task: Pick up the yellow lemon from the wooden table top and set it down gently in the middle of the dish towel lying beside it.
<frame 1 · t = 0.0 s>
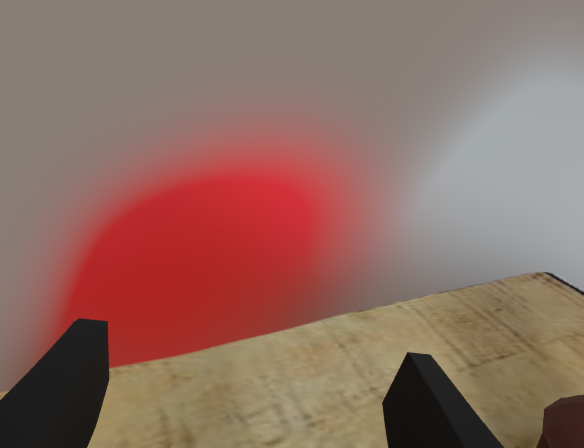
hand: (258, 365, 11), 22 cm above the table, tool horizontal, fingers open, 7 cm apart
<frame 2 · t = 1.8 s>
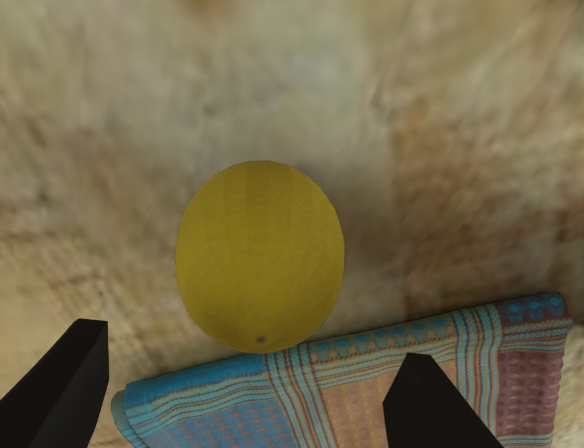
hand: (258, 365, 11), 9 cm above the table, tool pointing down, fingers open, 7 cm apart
dish towel: (349, 419, 27), on the table
lemon: (262, 189, 18), on the table
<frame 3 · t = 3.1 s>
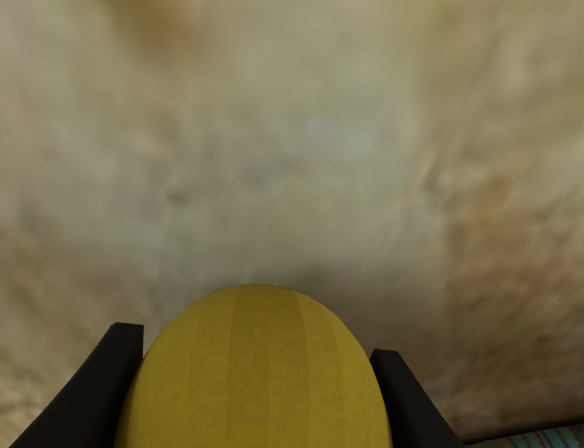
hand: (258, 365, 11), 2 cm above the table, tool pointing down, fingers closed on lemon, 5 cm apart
lemon: (258, 297, 13), on the table, touching gripper
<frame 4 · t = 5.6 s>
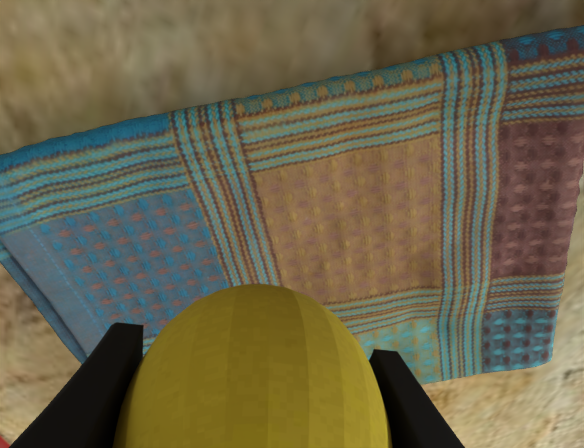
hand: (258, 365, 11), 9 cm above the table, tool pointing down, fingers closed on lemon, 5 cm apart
dish towel: (301, 260, 21), on the table
lemon: (258, 297, 13), point 7 cm above the table, touching gripper
when the fingers open (5 cm above the table, at t = 7.9 s): lemon stays where it is, resting on dish towel.
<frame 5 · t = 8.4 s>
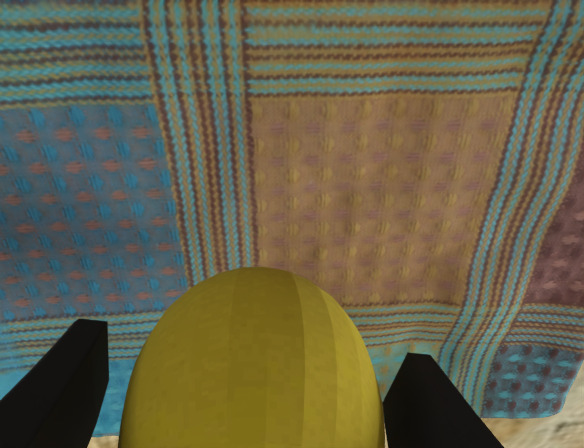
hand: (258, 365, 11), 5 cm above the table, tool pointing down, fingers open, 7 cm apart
dish towel: (286, 243, 16), on the table, touching lemon
lemon: (258, 282, 13), point 2 cm above the table, touching dish towel
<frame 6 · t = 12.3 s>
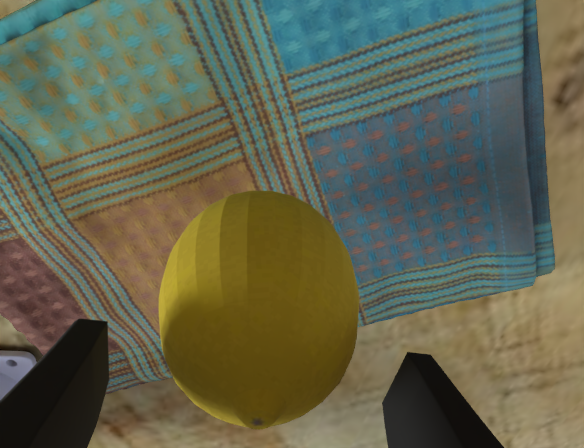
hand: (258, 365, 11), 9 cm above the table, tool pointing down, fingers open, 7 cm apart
dish towel: (237, 184, 18), on the table, touching lemon
lemon: (261, 217, 16), point 2 cm above the table, touching dish towel
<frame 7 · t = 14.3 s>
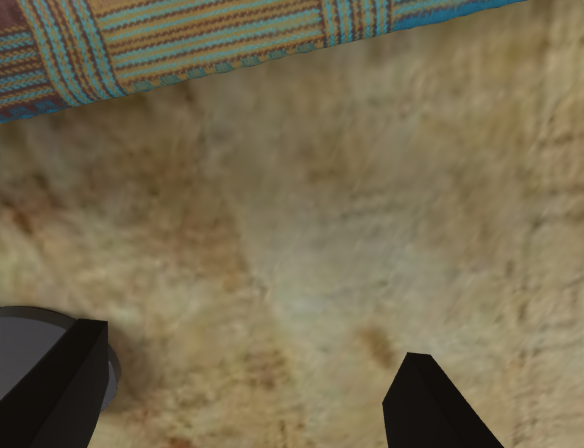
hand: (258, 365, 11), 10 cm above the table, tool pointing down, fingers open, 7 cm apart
slate coaster: (37, 365, 25), on the table
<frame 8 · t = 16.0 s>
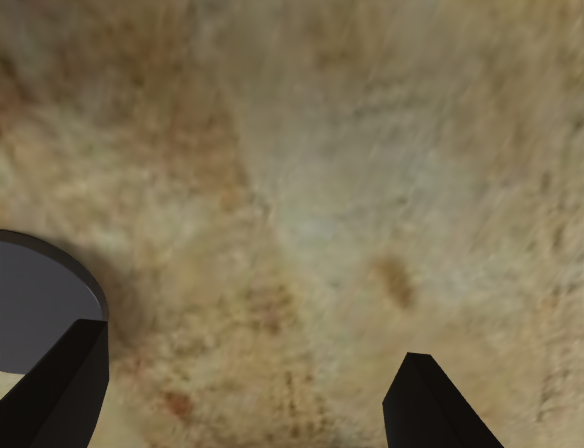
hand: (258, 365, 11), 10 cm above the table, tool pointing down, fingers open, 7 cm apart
slate coaster: (15, 303, 22), on the table
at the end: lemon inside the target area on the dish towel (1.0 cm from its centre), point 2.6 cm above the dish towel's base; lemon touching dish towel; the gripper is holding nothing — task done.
